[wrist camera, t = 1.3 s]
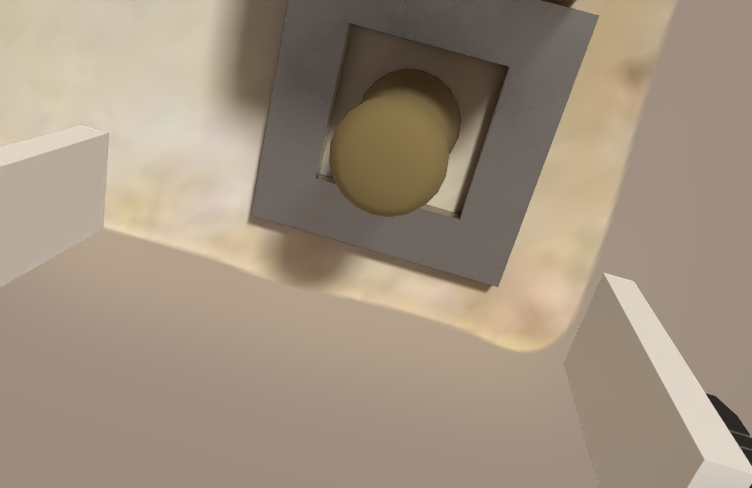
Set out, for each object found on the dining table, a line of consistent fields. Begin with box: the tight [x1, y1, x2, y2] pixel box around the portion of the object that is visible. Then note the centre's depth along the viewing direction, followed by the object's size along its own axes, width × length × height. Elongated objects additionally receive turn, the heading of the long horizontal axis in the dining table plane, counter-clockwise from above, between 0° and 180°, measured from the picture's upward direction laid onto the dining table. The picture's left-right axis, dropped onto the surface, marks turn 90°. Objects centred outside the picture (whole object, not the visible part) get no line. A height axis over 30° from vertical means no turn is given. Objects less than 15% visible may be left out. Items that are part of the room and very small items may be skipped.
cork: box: [329, 69, 461, 217], centre depth 29 cm, size 6×6×11 cm
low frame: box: [251, 0, 599, 287], centre depth 33 cm, size 16×16×1 cm
